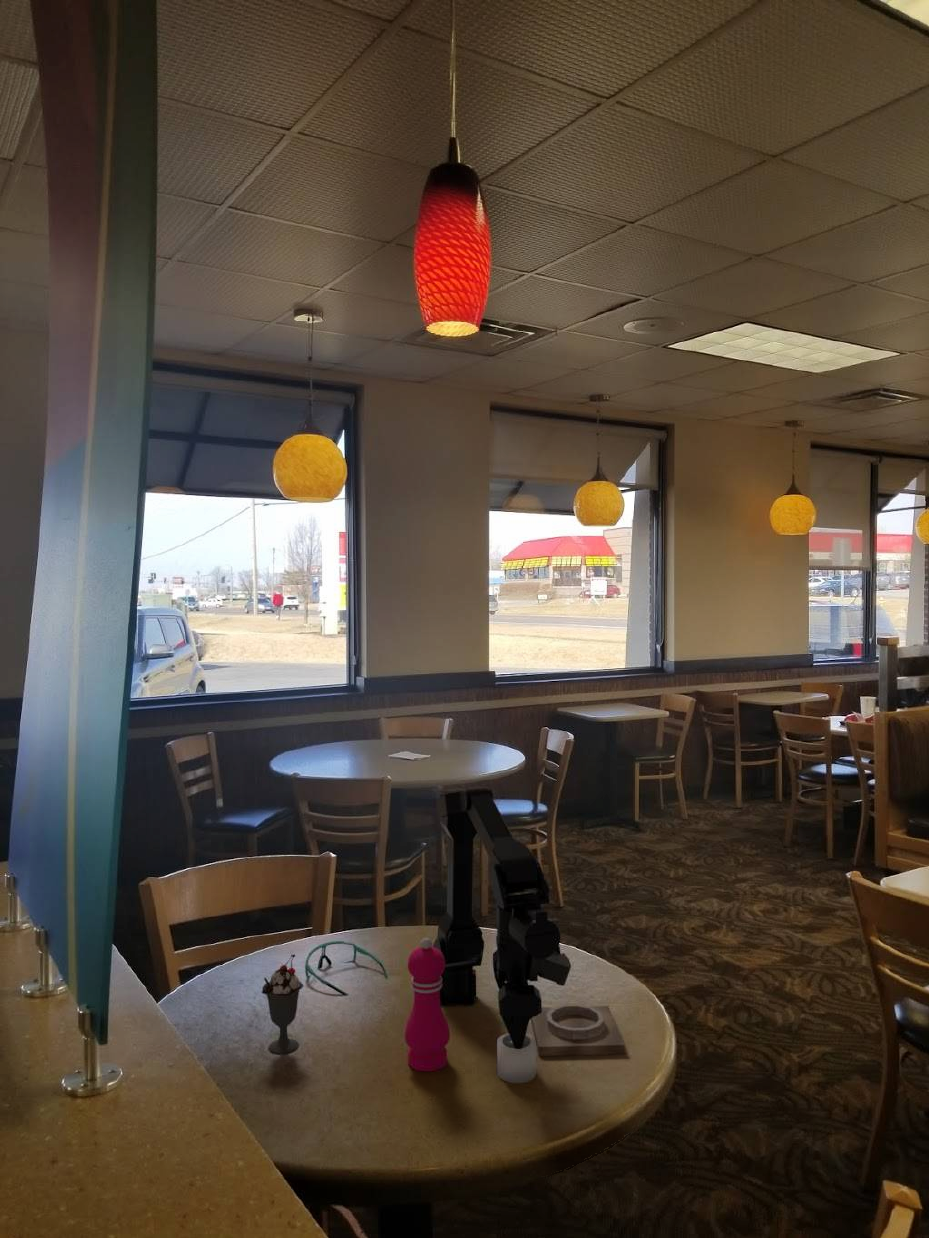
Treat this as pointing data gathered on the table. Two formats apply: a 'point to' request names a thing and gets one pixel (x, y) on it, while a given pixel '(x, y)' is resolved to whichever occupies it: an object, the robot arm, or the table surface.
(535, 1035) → the mount board
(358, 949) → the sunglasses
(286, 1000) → the sundae
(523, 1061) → the lens
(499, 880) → the robot arm
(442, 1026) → the pepper mill
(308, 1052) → the table surface
